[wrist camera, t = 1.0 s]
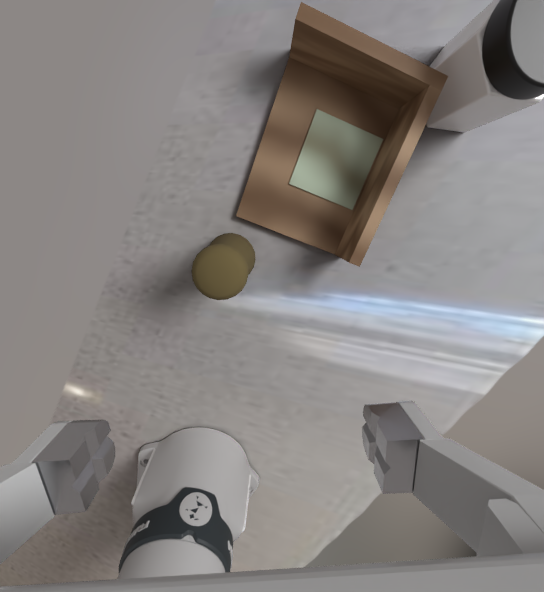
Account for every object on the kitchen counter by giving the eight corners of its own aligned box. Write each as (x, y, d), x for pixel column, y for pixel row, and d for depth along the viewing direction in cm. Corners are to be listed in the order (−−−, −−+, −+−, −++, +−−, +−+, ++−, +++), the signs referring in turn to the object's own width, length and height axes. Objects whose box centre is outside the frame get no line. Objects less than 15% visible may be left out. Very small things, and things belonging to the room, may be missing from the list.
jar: (506, 52, 31) (653, -46, 19) (482, 136, 33) (601, 95, 21) (425, 39, 30) (526, -70, 18) (406, 126, 32) (486, 77, 21)
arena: (342, 257, 36) (359, 266, 30) (236, 215, 34) (230, 216, 28) (410, 104, 32) (448, 76, 25) (292, 48, 30) (301, 2, 23)
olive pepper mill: (196, 260, 36) (168, 280, 25) (227, 222, 35) (211, 226, 24) (234, 290, 37) (223, 321, 26) (265, 255, 36) (266, 272, 25)
